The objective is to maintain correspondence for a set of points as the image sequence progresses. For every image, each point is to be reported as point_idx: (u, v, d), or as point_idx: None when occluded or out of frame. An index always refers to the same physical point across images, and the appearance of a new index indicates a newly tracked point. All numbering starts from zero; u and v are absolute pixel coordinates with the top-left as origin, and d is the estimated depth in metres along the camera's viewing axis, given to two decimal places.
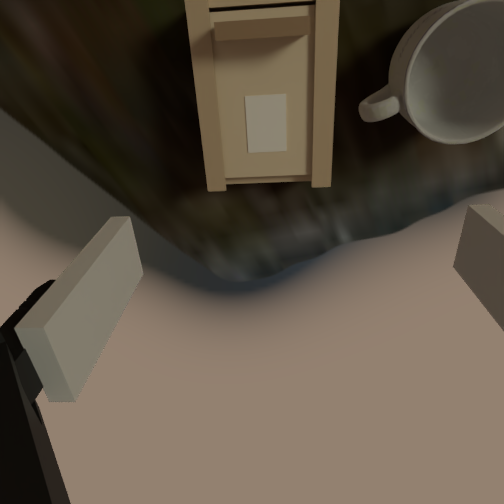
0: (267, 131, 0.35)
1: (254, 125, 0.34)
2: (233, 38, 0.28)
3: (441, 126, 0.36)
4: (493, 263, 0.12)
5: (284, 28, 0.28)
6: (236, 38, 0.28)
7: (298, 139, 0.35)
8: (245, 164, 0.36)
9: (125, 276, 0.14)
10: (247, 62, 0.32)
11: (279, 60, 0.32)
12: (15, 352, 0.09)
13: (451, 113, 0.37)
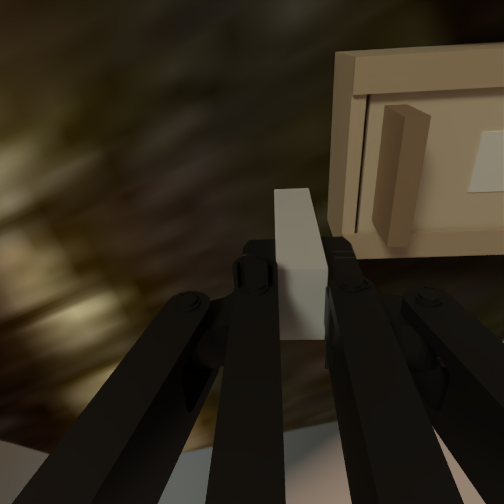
0: None
1: None
2: (410, 224, 0.20)
3: None
4: None
5: (413, 156, 0.19)
6: (411, 220, 0.20)
7: None
8: None
9: None
10: (424, 187, 0.23)
11: (431, 143, 0.22)
12: None
13: None
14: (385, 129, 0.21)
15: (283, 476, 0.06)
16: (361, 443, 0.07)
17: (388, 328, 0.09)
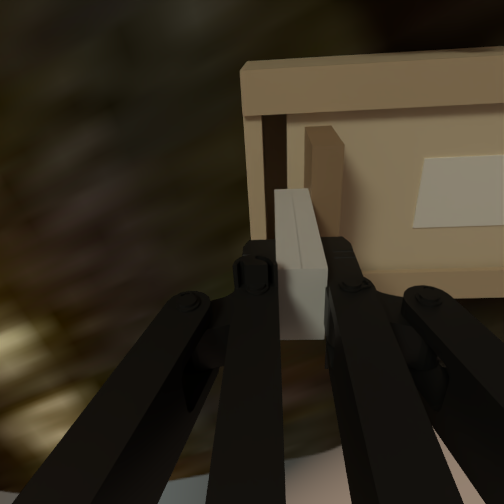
0: (484, 191, 0.18)
1: (466, 212, 0.19)
2: None
3: None
4: None
5: (328, 193, 0.15)
6: None
7: None
8: None
9: None
10: (360, 221, 0.19)
11: (365, 171, 0.18)
12: None
13: None
14: (305, 155, 0.17)
15: (283, 476, 0.06)
16: (361, 443, 0.07)
17: (388, 328, 0.09)
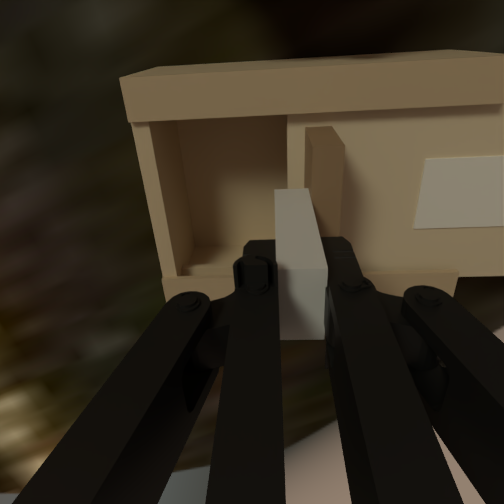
0: (485, 191, 0.18)
1: (467, 213, 0.19)
2: None
3: None
4: None
5: (328, 194, 0.15)
6: None
7: None
8: None
9: None
10: (361, 222, 0.19)
11: (366, 171, 0.18)
12: None
13: None
14: (305, 156, 0.17)
15: (283, 476, 0.06)
16: (361, 443, 0.07)
17: (388, 328, 0.09)
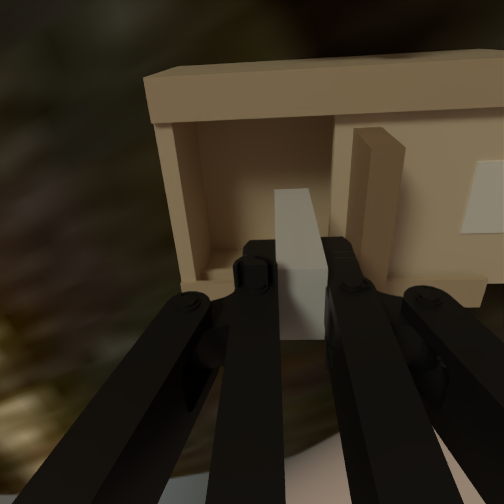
0: None
1: None
2: (384, 279, 0.16)
3: None
4: None
5: (384, 197, 0.14)
6: (385, 275, 0.16)
7: None
8: None
9: None
10: (406, 226, 0.19)
11: (414, 174, 0.17)
12: None
13: None
14: (354, 158, 0.17)
15: (283, 476, 0.06)
16: (361, 443, 0.07)
17: (388, 328, 0.09)
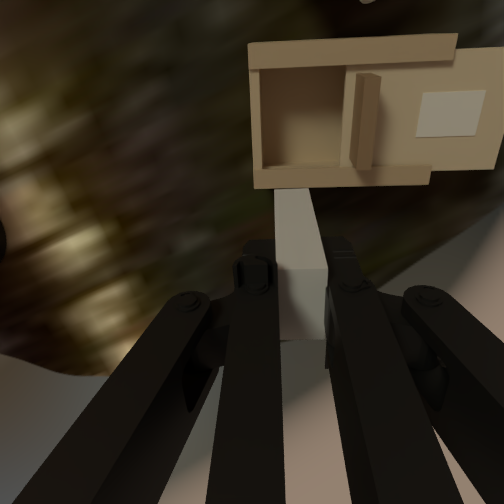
0: (457, 113, 0.32)
1: (447, 127, 0.32)
2: (371, 153, 0.30)
3: None
4: None
5: (371, 104, 0.29)
6: (372, 150, 0.30)
7: (476, 75, 0.30)
8: (487, 139, 0.33)
9: None
10: (385, 133, 0.33)
11: (389, 100, 0.32)
12: None
13: None
14: (356, 89, 0.31)
15: (283, 476, 0.06)
16: (361, 443, 0.07)
17: (388, 328, 0.09)
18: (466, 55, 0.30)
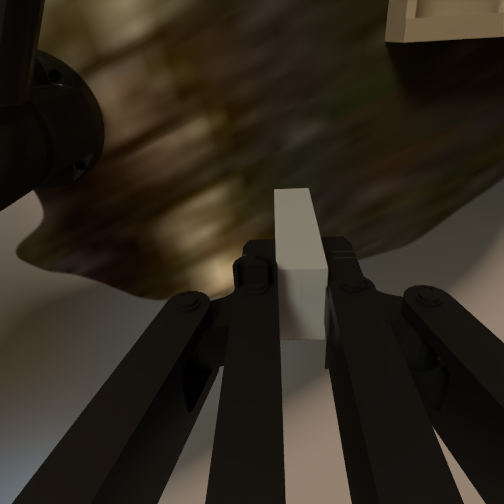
0: None
1: None
2: None
3: None
4: None
5: None
6: None
7: None
8: None
9: None
10: None
11: None
12: None
13: None
14: None
15: (283, 476, 0.06)
16: (361, 443, 0.07)
17: (388, 328, 0.09)
18: None
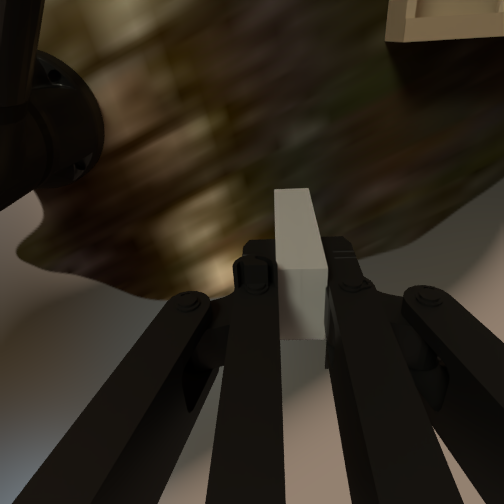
0: None
1: None
2: None
3: None
4: None
5: None
6: None
7: None
8: None
9: None
10: None
11: None
12: None
13: None
14: None
15: (283, 476, 0.06)
16: (361, 443, 0.07)
17: (388, 328, 0.09)
18: None
